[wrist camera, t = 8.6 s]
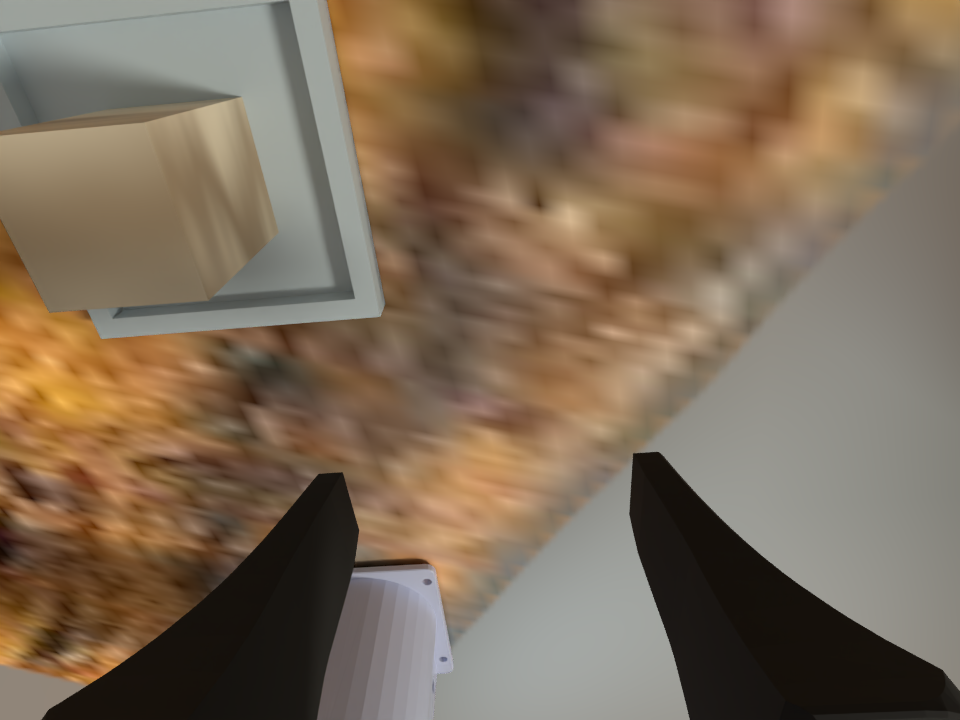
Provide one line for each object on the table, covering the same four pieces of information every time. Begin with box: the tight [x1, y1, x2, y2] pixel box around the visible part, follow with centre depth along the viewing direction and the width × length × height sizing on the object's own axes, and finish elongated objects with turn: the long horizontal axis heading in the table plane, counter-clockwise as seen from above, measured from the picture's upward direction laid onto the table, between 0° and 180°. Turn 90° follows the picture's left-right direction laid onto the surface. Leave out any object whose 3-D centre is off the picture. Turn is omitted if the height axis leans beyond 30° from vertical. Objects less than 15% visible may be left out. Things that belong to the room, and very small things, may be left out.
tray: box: [0, 0, 385, 339], centre depth 19 cm, size 11×11×1 cm
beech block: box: [0, 97, 279, 313], centre depth 17 cm, size 4×4×6 cm
